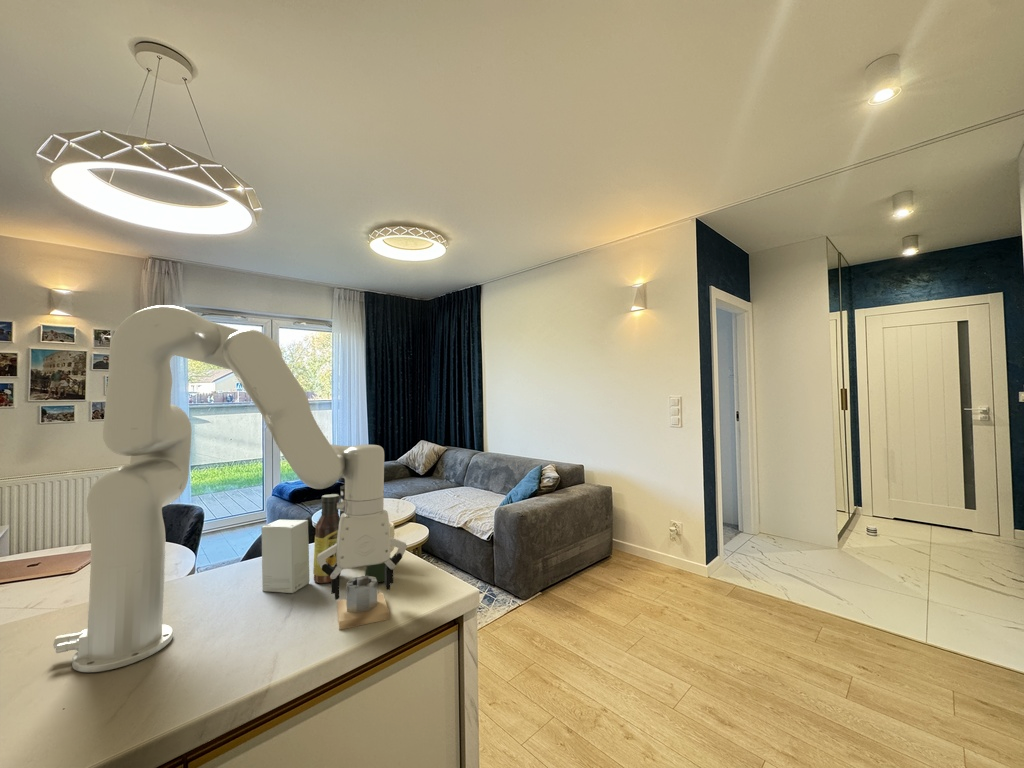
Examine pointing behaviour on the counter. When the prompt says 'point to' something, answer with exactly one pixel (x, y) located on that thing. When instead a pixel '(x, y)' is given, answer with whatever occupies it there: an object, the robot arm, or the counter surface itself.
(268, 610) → the counter surface
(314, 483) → the robot arm
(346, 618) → the shaft stand
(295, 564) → the skincare box
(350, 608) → the tube
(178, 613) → the counter surface
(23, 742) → the counter surface
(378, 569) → the character mug
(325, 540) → the sauce bottle
